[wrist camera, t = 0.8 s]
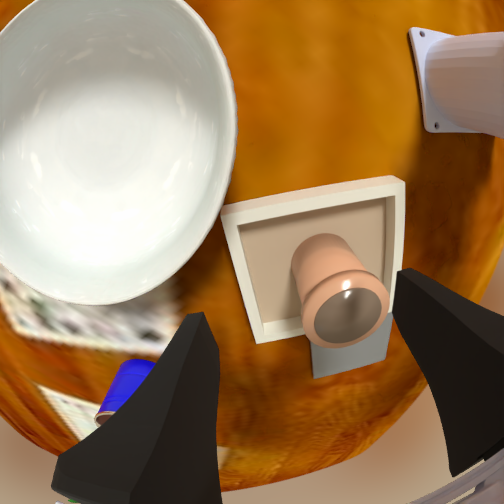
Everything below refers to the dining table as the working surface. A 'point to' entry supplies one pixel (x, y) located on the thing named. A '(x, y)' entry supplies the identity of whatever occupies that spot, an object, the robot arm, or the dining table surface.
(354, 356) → the coaster
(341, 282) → the pot
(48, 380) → the dining table surface
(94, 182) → the cereal bowl
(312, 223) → the square beige tray
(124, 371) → the hyacinth
